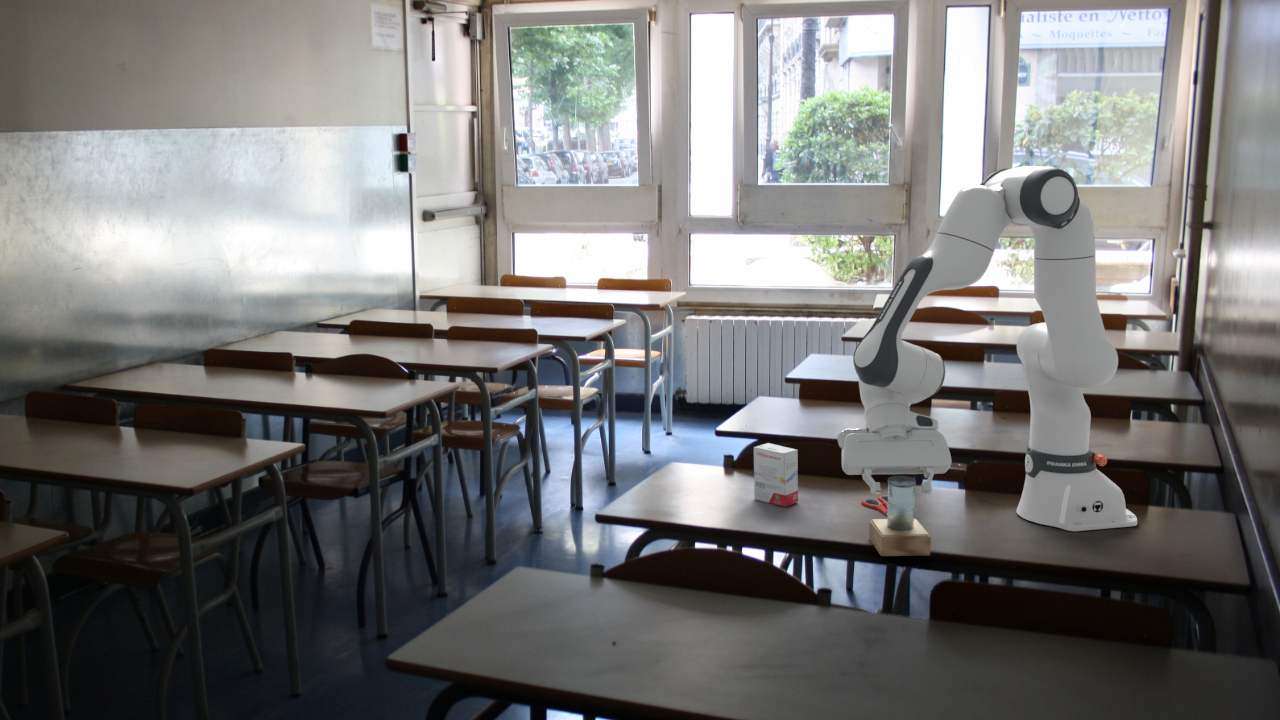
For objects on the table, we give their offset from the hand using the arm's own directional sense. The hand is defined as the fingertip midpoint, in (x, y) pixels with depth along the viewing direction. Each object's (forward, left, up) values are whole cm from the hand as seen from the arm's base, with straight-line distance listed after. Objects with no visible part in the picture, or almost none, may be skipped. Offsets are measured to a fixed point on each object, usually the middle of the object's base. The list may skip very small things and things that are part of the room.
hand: (901, 492), depth 186 cm
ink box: (+19, -28, -11) cm, 36 cm away
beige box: (0, 0, -11) cm, 11 cm away
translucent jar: (0, 0, -7) cm, 7 cm away
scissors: (-4, -18, -11) cm, 22 cm away
